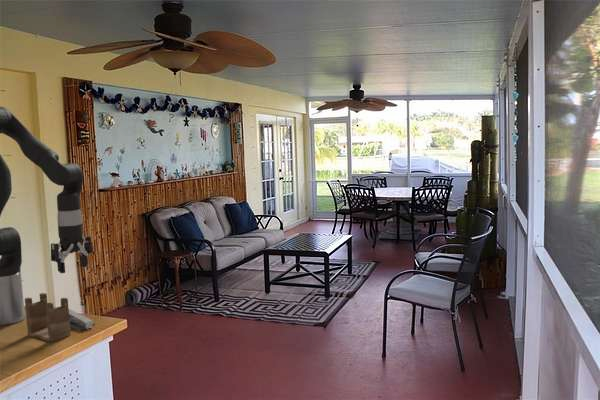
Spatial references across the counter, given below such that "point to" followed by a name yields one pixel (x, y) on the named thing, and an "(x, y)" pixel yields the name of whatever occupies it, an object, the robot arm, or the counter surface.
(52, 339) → the cradle
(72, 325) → the mat
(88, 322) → the steel rod
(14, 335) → the counter surface
